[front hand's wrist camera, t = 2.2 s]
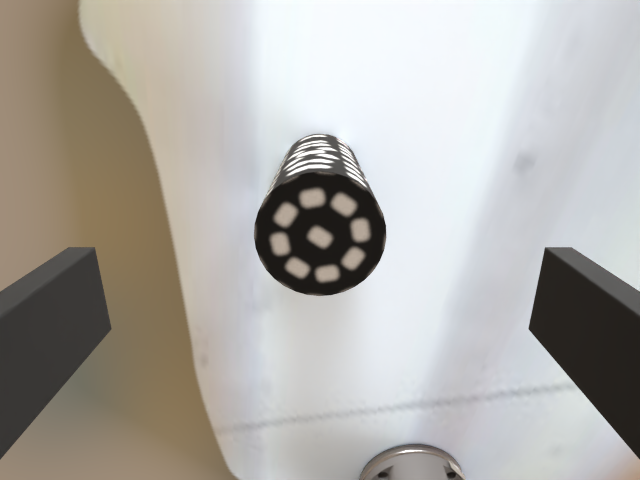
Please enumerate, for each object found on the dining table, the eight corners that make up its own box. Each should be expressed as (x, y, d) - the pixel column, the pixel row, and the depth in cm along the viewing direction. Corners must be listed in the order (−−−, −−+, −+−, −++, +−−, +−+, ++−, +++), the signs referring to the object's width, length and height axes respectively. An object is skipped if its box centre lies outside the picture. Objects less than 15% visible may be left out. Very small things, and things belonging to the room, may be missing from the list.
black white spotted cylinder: (374, 163, 45) (413, 220, 26) (329, 224, 47) (335, 317, 28) (309, 117, 43) (301, 143, 24) (267, 183, 45) (229, 252, 27)
